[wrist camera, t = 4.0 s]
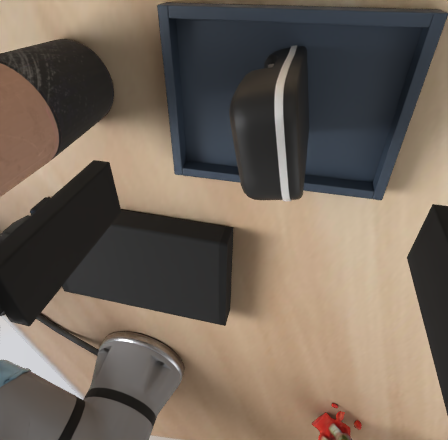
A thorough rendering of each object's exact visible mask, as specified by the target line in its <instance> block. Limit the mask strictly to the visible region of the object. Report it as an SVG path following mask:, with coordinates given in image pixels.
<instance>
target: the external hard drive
mask: <svg viewBox="0 0 448 440" xmlns="http://www.w3.org/2000/svg"><path fill="white" fill-rule="evenodd" d="M49 199H50V198H47V197H45V198H44V199H43V200H42V201H40V202H39V203H38V204H37V205H36V206H35V207H33V208H32V209H31V211H30V213H31V215H32V214H33V213H35V212H36V211H37V210H38V209H39V208H40V207H41V206H42V205H44V204H45V203H46V202H47V201H48V200H49ZM232 252H233V228H232V227H225V226H220V225H213V224H207V223H201V222H195V221H189V220H183V219H176V218H170V217H164V216H158V215H152V214H146V213H139V212H133V211H127V210H121V213H120V214H119V216H118V217H117V218H116V219H115V221H114V222H113V223H112V224H111V226H110V227H109V228H108V229H107V231H106V232H105V233H104V234H103V236H102V237H101V238H100V239H99V241H98V242H97V243H96V244H95V246H94V247H93V248H92V249H91V250H90V252H89V253H88V254H87V255H86V257H85V258H84V259H83V260H82V262H81V263H80V264H79V265H78V267H77V268H76V269H75V270H74V272H73V273H72V274H71V275H70V277H69V278H68V279H67V280H66V282H65V283H64V284H63V285H62V287H63V289H64V291H66V292H71V293H76V294H80V295H85V296H90V297H94V298H99V299H103V300H108V301H113V302H117V303H122V304H127V305H131V306H136V307H141V308H145V309H150V310H154V311H159V312H164V313H168V314H173V315H178V316H182V317H187V318H191V319H196V320H201V321H205V322H210V323H215V324H219V325H224V326H225V325H226V322H227V318H228V315H229V311H230V303H231V278H232Z"/></svg>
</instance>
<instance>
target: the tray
mask: <svg viewBox="0 0 448 440" xmlns="http://www.w3.org/2000/svg"><path fill="white" fill-rule="evenodd" d="M157 7H158V17H159V27H160V36H161V46H162V55H163V65H164V75H165V84H166V94H167V103H168V113H169V123H170V132H171V142H172V151H173V161H174V171H175V174H177V175H185V176H193V177H201V178H209V179H217V180H225V181H233V182H240V177H239V172H238V166H237V160H236V154H235V148H234V142H233V136H232V130H231V124H230V115H229V110H230V104H231V100H232V97H233V95H234V93H235V91H236V89H237V87H238V85H239V84H240V82H241V81H242V80H243V78H244V77H245V75H246V74H248V73H250V72H251V71H254V70H258V69H263V68H264V65H265V61H266V59H267V58H268V56H269V55H270V54H272V53H273V52H275V51H278V50H281V49H284V48H291V46H295V45H297V46H304V47H306V49H307V65H308V100H309V136H308V147H307V158H306V170H305V180H304V189H303V190H305V191H313V192H321V193H329V194H337V195H345V196H353V197H361V198H369V199H376V200H382V199H383V196H384V193H385V190H386V187H387V185H388V182H389V179H390V176H391V173H392V170H393V168H394V165H395V162H396V159H397V156H398V154H399V151H400V148H401V145H402V142H403V140H404V137H405V134H406V131H407V128H408V125H409V123H410V120H411V117H412V114H413V111H414V109H415V106H416V103H417V100H418V97H419V95H420V92H421V89H422V86H423V83H424V80H425V78H426V75H427V72H428V69H429V66H430V64H431V61H432V58H433V55H434V52H435V50H436V47H437V44H438V41H439V38H440V35H441V33H442V30H443V27H444V24H445V21H446V19H447V16H448V13H446V12H444V11H442V10H438V9H400V8H362V7H324V6H286V5H248V4H210V3H172V2H166V3H163V4H160V5H157Z"/></svg>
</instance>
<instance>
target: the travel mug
mask: <svg viewBox="0 0 448 440" xmlns="http://www.w3.org/2000/svg"><path fill="white" fill-rule="evenodd" d="M113 99H114V89H113V83H112V80H111V77H110V74H109V72H108V70H107V68H106V67H105V65H104V63H103V62H102V61H101V59H100V58H99V57H98V56H97V55H96V54H95V53H94V52H93V51H92V50H91V49H89V48H88V47H86V46H85V45H83V44H81V43H79V42H76V41H73V40H67V39H60V40H54V41H50V42H46V43H42V44H37V45H33V46H29V47H25V48H21V49H17V50H13V51H9V52H5V53H1V54H0V197H1V196H2V195H4V194H5V193H6V192H8V191H9V190H10V189H12V188H13V187H15V186H16V185H17V184H19V183H20V182H22V181H23V180H24V179H26V178H27V177H28V176H30V175H31V174H33V173H34V172H35V171H37V170H38V169H40V168H41V167H42V166H44V165H45V164H47V163H48V162H49V161H50V160H52V159H53V158H54V157H56V156H57V155H58V154H59V153H60V152H62V151H63V150H64V149H65V148H67V147H68V146H69V145H70V144H72V143H73V142H74V141H75V140H76V139H78V138H79V137H80V136H81V135H83V134H84V133H85V132H86V131H88V130H89V129H90V128H91V127H93V126H94V125H95V124H96V123H97V122H99V121H100V120H101V119H102V118H103V117H104V116H105V115H106V114H107V113H108V112H109V110H110V109H111V106H112V104H113Z"/></svg>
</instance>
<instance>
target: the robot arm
mask: <svg viewBox="0 0 448 440" xmlns="http://www.w3.org/2000/svg"><path fill="white" fill-rule="evenodd" d="M120 213H121V209H120V205H119V201H118V196H117V192H116V188H115V184H114V180H113V175H112V171H111V167H110V163H109V162H103V161H95V160H94V161H92V162H91V163H90V164H89V165H88V166H87V167H86V168H84V169H83V170H82V171H81V172H80V173H79V174H78V175H77V176H75V177H74V178H73V179H72V180H71V181H70V182H69V183H67V184H66V185H65V186H64V187H63V188H62V189H61V190H60V191H58V192H57V193H56V194H55V195H54V196H53V197H52V198H50V199H49V200H48V201H47V202H46V203H45V204H44V205H42V206H41V207H40V208H39V209H38V210H37V211H36V212H35V213H33V214H32V215H31V216H29V215H27V216H25V217H23V218H21V219H19V220H18V221H16V222H14V223H12V224H11V225H10V226H9V227H8V228H7V229H5V230H4V231H3V233H2V234H0V316H2V315H4V314H6V316H7V317H8V319H9V320H10V321H11V322H14V323H18V324H22V325H26V326H30V325H31V324H32V323H33V322H34V320H35V319H37V320H39V321H41V322H42V323H44V324H45V325H47V326H48V327H49V328H51V329H52V330H54V331H56V332H57V333H59V334H61V335H62V336H64V337H66V338H67V339H69V340H71V341H72V342H74V343H76V344H77V345H79V346H81V347H82V348H84V349H86V350H88V351H89V352H91V353H93V354H95V355H97V360H96V365H95V370H94V374H93V379H92V383H91V386H90V389H89V391H88V392H87V394H86V396H85V398H84V400H82V399H80V398H78V397H76V396H75V395H73V394H71V393H69V392H67V391H65V390H63V389H61V388H60V387H58V386H56V385H54V384H52V383H50V382H48V381H47V380H45V379H43V378H41V377H39V376H38V375H36V374H34V373H32V372H31V370H30V369H25V368H22V367H20V366H18V365H15V364H13V363H11V362H9V361H7V360H0V440H149V437H150V434H151V432H152V429H153V426H154V423H155V420H156V418H157V415H158V413H159V412H160V411H161V409H162V408H163V406H164V405H165V404H166V402H167V401H168V400H169V398H170V397H171V396H172V394H173V393H174V391H175V390H176V389H177V387H178V386H179V385H180V383H181V380H182V377H183V374H184V371H185V368H184V364H183V362H182V360H181V359H180V357H179V356H178V355H177V354H176V353H175V352H174V351H173V350H171V349H170V348H169V347H167V346H166V345H164V344H163V343H161V342H159V341H157V340H155V339H153V338H150V337H148V336H145V335H142V334H138V333H133V332H115V333H112V334H109V335H108V336H107V337H106V338H105V339H104V341H103V343H102V344H101V346H100V348H99V350H98V349H96V348H95V347H93V346H91V345H89V344H88V343H86V342H84V341H82V340H81V339H79V338H77V337H76V336H74V335H72V334H71V333H69V332H67V331H65V330H64V329H62V328H60V327H59V326H57V325H56V324H54V323H53V322H51V321H50V320H48V319H47V318H45V317H44V316H42V315H41V314H40V313H41V312H42V310H43V309H44V308H45V307H46V305H47V304H48V303H49V302H50V300H51V299H52V298H53V297H54V295H55V294H56V293H57V292H58V290H59V289H60V288H61V287H62V285H63V284H64V283H65V282H66V280H67V279H68V278H69V277H70V275H71V274H72V273H73V272H74V270H75V269H76V268H77V267H78V265H79V264H80V263H81V262H82V260H83V259H84V258H85V257H86V255H87V254H88V253H89V252H90V250H91V249H92V248H93V247H94V246H95V244H96V243H97V242H98V241H99V239H100V238H101V237H102V236H103V234H104V233H105V232H106V231H107V229H108V228H109V227H110V226H111V224H112V223H113V222H114V221H115V219H116V218H117V217H118V216H119V214H120ZM407 259H408V263H409V267H410V271H411V275H412V279H413V283H414V287H415V290H416V294H417V298H418V302H419V306H420V310H421V314H422V318H423V322H424V325H425V329H426V333H427V337H428V341H429V345H430V349H431V353H432V356H433V360H434V364H435V368H436V372H437V376H438V380H439V384H440V388H441V391H442V395H443V399H444V403H445V407H446V411H447V415H448V206H442V205H434V204H433V205H432V207H431V209H430V211H429V213H428V215H427V217H426V219H425V221H424V223H423V225H422V228H421V230H420V232H419V234H418V236H417V238H416V240H415V242H414V244H413V246H412V248H411V250H410V252H409V254H408V256H407Z"/></svg>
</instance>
